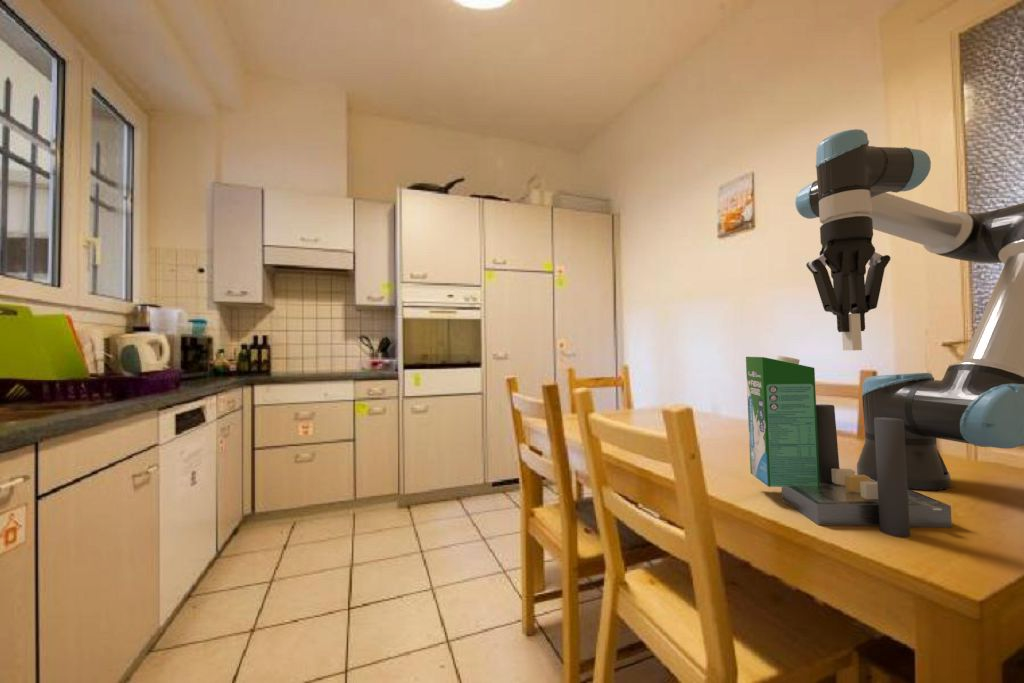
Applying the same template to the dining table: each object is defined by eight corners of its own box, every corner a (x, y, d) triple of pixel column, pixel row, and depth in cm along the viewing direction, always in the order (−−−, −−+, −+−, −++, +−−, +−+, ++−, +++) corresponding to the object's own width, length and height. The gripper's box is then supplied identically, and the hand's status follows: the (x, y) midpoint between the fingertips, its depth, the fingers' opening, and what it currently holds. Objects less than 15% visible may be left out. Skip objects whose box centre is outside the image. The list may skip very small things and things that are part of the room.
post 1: (834, 493, 86) (826, 404, 87) (846, 499, 82) (838, 406, 83) (815, 493, 86) (808, 404, 87) (826, 499, 83) (818, 406, 83)
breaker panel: (887, 497, 83) (886, 478, 83) (963, 532, 67) (962, 508, 67) (777, 496, 85) (776, 477, 85) (825, 530, 69) (824, 507, 69)
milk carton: (820, 488, 80) (814, 355, 81) (768, 487, 81) (762, 356, 82) (797, 474, 89) (791, 355, 89) (750, 473, 90) (745, 356, 91)
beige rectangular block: (881, 496, 73) (880, 481, 73) (887, 499, 71) (886, 484, 71) (860, 496, 73) (860, 481, 73) (866, 499, 72) (865, 484, 72)
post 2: (898, 527, 69) (892, 417, 70) (916, 537, 66) (910, 420, 66) (874, 527, 70) (868, 417, 70) (890, 537, 66) (884, 421, 67)
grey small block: (850, 482, 81) (849, 468, 81) (855, 484, 79) (854, 470, 79) (832, 481, 81) (831, 468, 81) (836, 484, 80) (835, 470, 80)
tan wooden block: (865, 488, 77) (864, 474, 77) (870, 491, 75) (869, 477, 75) (845, 488, 77) (844, 474, 77) (850, 491, 76) (850, 477, 76)
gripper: (869, 224, 80) (876, 348, 80) (795, 229, 82) (802, 351, 81) (900, 211, 73) (908, 348, 72) (818, 217, 74) (825, 351, 74)
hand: (852, 350), depth 77 cm, fingers closed
